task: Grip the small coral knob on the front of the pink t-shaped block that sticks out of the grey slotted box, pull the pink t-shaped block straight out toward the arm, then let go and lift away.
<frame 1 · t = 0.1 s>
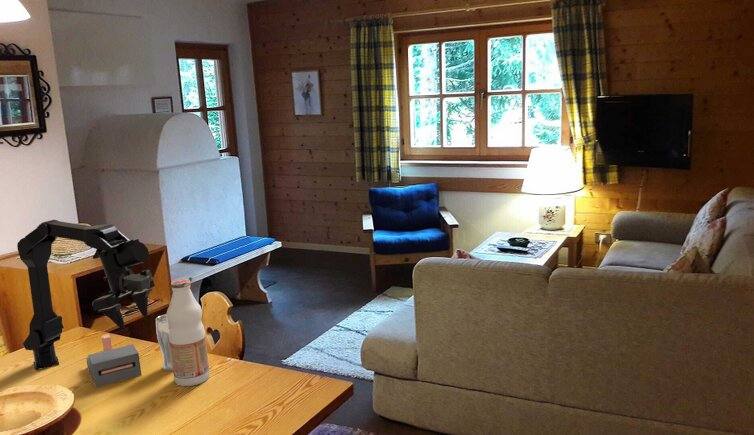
hand: (134, 322, 172), 15 cm above the table, tool pointing down, fingers open, 9 cm apart
pink t-shaped block: (111, 351, 177), point 6 cm above the table, slide at 0.0 cm
grey slotted box: (114, 371, 178), on the table
fruit juice: (192, 379, 170), on the table
beer glass: (174, 367, 179), on the table
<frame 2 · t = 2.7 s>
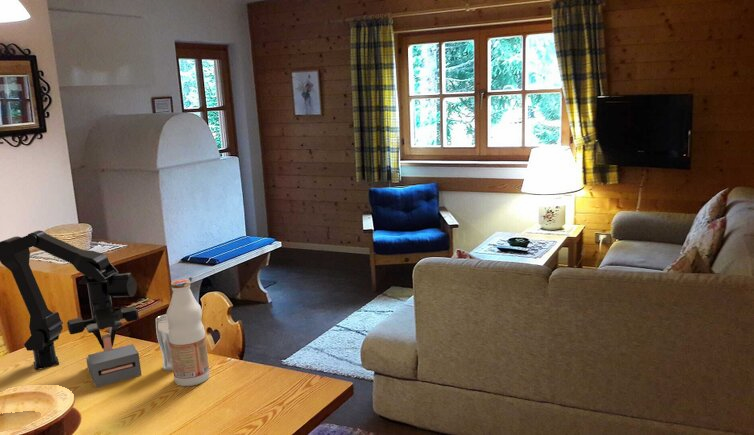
hand: (107, 347, 183), 5 cm above the table, tool pointing down, fingers closed on pink t-shaped block, 2 cm apart
pink t-shaped block: (111, 351, 177), point 6 cm above the table, slide at 0.0 cm, touching gripper
everything else where it was.
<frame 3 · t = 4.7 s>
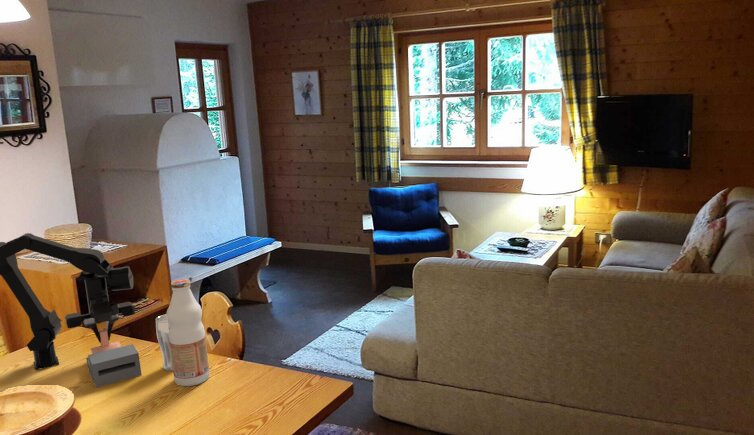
hand: (104, 341, 188), 5 cm above the table, tool pointing down, fingers closed on pink t-shaped block, 2 cm apart
pink t-shaped block: (107, 345, 182), point 6 cm above the table, slide at 5.9 cm, touching gripper
everything else where it was.
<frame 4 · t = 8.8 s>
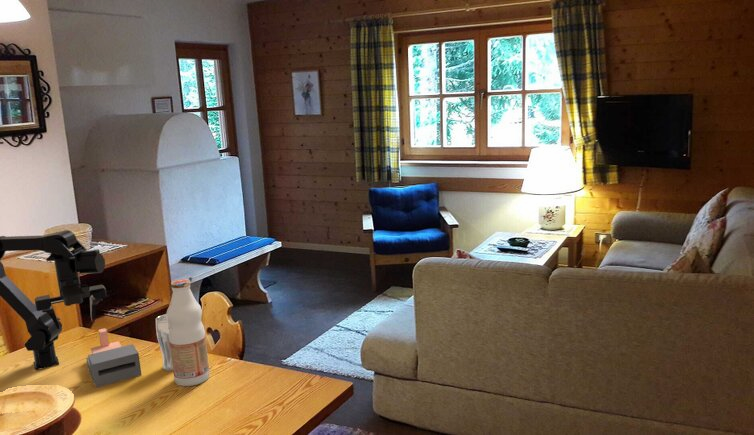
hand: (75, 324, 183), 12 cm above the table, tool pointing down, fingers open, 9 cm apart
pink t-shaped block: (107, 345, 182), point 6 cm above the table, slide at 6.0 cm
everything else where it was.
at the end: pink t-shaped block slide at 6.0 cm; the gripper is holding nothing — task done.
